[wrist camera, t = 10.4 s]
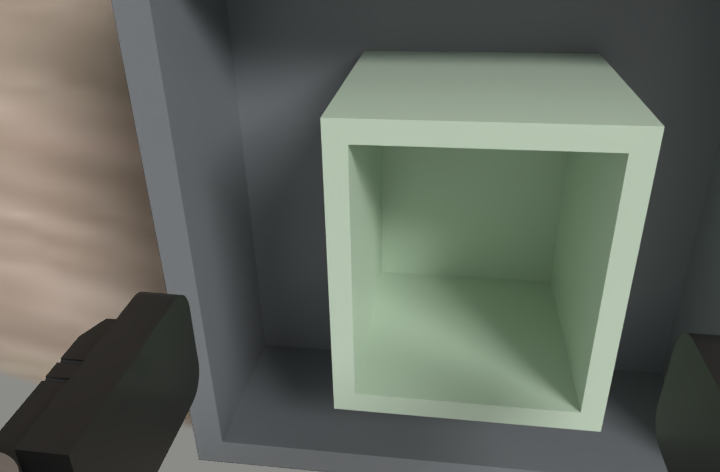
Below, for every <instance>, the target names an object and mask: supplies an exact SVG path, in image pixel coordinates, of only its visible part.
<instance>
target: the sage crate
mask: <svg viewBox="0 0 720 472" xmlns="http://www.w3.org/2000/svg"><path fill="white" fill-rule="evenodd" d="M320 122H321V143H322V164H323V185H324V206H325V227H326V248H327V269H328V290H329V311H330V332H331V353H332V374H333V395H334V409H345V410H356V411H367V412H379V413H390V414H402V415H413V416H425V417H436V418H448V419H459V420H471V421H482V422H494V423H505V424H517V425H528V426H540V427H551V428H563V429H574V430H586V431H597V432H601V429H602V424H603V419H604V414H605V410H606V405H607V400H608V395H609V390H610V386H611V381H612V376H613V371H614V366H615V362H616V357H617V352H618V347H619V343H620V338H621V333H622V328H623V323H624V319H625V314H626V309H627V304H628V300H629V295H630V290H631V285H632V280H633V276H634V271H635V266H636V261H637V256H638V252H639V247H640V242H641V237H642V233H643V228H644V223H645V218H646V213H647V209H648V204H649V199H650V194H651V190H652V185H653V180H654V175H655V170H656V166H657V161H658V156H659V151H660V147H661V142H662V137H663V132H664V127H665V126H664V125H663V124H662V123H661V122H660V121H659V120H658V119H657V117H656V116H655V115H654V114H653V113H652V112H651V111H650V110H649V108H648V107H647V106H646V105H645V104H644V103H643V102H642V101H641V100H640V98H639V97H638V96H637V95H636V94H635V93H634V92H633V91H632V89H631V88H630V87H629V86H628V85H627V84H626V83H625V82H624V80H623V79H622V78H621V77H620V76H619V75H618V74H617V73H616V72H615V70H614V69H613V68H612V67H611V66H610V65H609V64H608V63H607V61H606V60H605V59H604V58H603V57H602V56H601V55H600V54H599V53H525V52H435V51H364V52H363V54H362V55H361V57H360V58H359V60H358V61H357V63H356V64H355V66H354V67H353V69H352V70H351V72H350V73H349V75H348V77H347V78H346V80H345V81H344V83H343V84H342V86H341V87H340V89H339V90H338V92H337V93H336V95H335V96H334V98H333V99H332V101H331V102H330V104H329V105H328V107H327V108H326V110H325V111H324V113H323V114H322V116H321V117H320Z"/></svg>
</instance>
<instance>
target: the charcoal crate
mask: <svg viewBox="0 0 720 472" xmlns="http://www.w3.org/2000/svg"><path fill="white" fill-rule="evenodd" d="M111 1H112V6H113V12H114V17H115V22H116V27H117V33H118V38H119V43H120V48H121V54H122V59H123V64H124V69H125V74H126V80H127V85H128V90H129V95H130V101H131V106H132V111H133V116H134V122H135V127H136V132H137V137H138V143H139V148H140V153H141V158H142V164H143V169H144V174H145V179H146V184H147V190H148V195H149V200H150V205H151V211H152V216H153V221H154V226H155V232H156V237H157V242H158V247H159V253H160V258H161V263H162V268H163V274H164V279H165V284H166V289H167V294H177V295H184V296H185V297H186V298H187V300H188V302H189V306H190V312H191V318H192V324H193V331H194V337H195V343H196V349H197V356H198V362H199V382H198V388H197V392H196V396H195V399H194V401H193V403H192V405H191V407H190V409H189V410H190V415H191V420H192V425H193V431H194V436H195V441H196V446H197V452H198V457H199V460H208V461H218V462H228V463H239V464H249V465H259V466H269V467H280V468H290V469H300V470H310V471H321V472H668V471H667V468H666V465H665V463H664V460H663V457H662V454H661V451H660V449H659V445H658V441H657V436H656V410H657V405H658V401H659V398H660V395H661V391H662V388H663V384H664V381H665V377H666V374H667V370H668V367H669V364H670V360H671V357H672V353H673V350H674V346H675V343H676V341H677V339H678V337H679V336H680V335H681V334H682V333H696V334H710V335H720V0H111ZM364 51H435V52H525V53H599V54H600V55H601V56H602V57H603V58H604V59H605V60H606V61H607V63H608V64H609V65H610V66H611V67H612V68H613V69H614V70H615V72H616V73H617V74H618V75H619V76H620V77H621V78H622V79H623V80H624V82H625V83H626V84H627V85H628V86H629V87H630V88H631V89H632V91H633V92H634V93H635V94H636V95H637V96H638V97H639V98H640V100H641V101H642V102H643V103H644V104H645V105H646V106H647V107H648V108H649V110H650V111H651V112H652V113H653V114H654V115H655V116H656V117H657V119H658V120H659V121H660V122H661V123H662V124H663V125H664V126H665V127H664V132H663V137H662V142H661V147H660V151H659V156H658V161H657V166H656V170H655V175H654V180H653V185H652V190H651V194H650V199H649V204H648V209H647V213H646V218H645V223H644V228H643V233H642V237H641V242H640V247H639V252H638V256H637V261H636V266H635V271H634V276H633V280H632V285H631V290H630V295H629V300H628V304H627V309H626V314H625V319H624V323H623V328H622V333H621V338H620V343H619V347H618V352H617V357H616V362H615V366H614V371H613V376H612V381H611V386H610V390H609V395H608V400H607V405H606V410H605V414H604V419H603V424H602V429H601V432H597V431H586V430H574V429H563V428H551V427H540V426H528V425H517V424H505V423H494V422H482V421H471V420H459V419H448V418H436V417H425V416H413V415H402V414H390V413H379V412H367V411H356V410H345V409H334V395H333V374H332V353H331V332H330V311H329V290H328V269H327V248H326V227H325V206H324V185H323V164H322V143H321V122H320V117H321V116H322V114H323V113H324V111H325V110H326V108H327V107H328V105H329V104H330V102H331V101H332V99H333V98H334V96H335V95H336V93H337V92H338V90H339V89H340V87H341V86H342V84H343V83H344V81H345V80H346V78H347V77H348V75H349V73H350V72H351V70H352V69H353V67H354V66H355V64H356V63H357V61H358V60H359V58H360V57H361V55H362V54H363V52H364Z"/></svg>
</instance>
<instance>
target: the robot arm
mask: <svg viewBox="0 0 720 472" xmlns="http://www.w3.org/2000/svg"><path fill="white" fill-rule="evenodd" d="M198 382H199V362H198V356H197V349H196V343H195V337H194V331H193V324H192V318H191V312H190V306H189V302H188V300H187V298H186V297H185V296H184V295H177V294H163V293H150V292H139V293H138V294H136V295H135V296H134V297H133V299H132V300H131V301H130V303H129V304H128V305H127V306H126V308H125V309H124V310H123V311H122V313H121V314H120V315H119V317H118V318H117V319H105V320H104V321H102V322H100V323H99V324H97V325H96V326H94V327H93V328H91V329H90V330H88V331H87V332H85V333H84V334H82V335H81V336H79V337H78V338H77V340H76V341H75V342H74V343H73V344H72V346H71V347H70V348H69V349H68V350H67V352H66V353H65V354H64V355H63V356H62V357H61V362H60V363H56V365H55V366H54V367H53V368H52V369H51V371H50V372H49V373H48V374H47V375H46V380H45V381H41V383H40V384H39V385H38V386H37V387H36V389H35V390H34V391H33V392H32V393H31V395H30V396H29V397H28V398H27V399H26V400H25V402H24V403H23V404H22V405H21V406H20V408H19V409H18V410H17V411H16V412H15V414H14V415H13V416H12V417H11V418H10V420H9V421H8V422H7V423H6V424H5V426H4V427H3V428H2V429H1V430H0V472H158V470H159V468H160V466H161V464H162V462H163V460H164V458H165V456H166V454H167V452H168V450H169V448H170V447H171V445H172V442H173V441H174V438H175V437H176V435H177V433H178V431H179V429H180V427H181V425H182V423H183V421H184V419H185V417H186V415H187V413H188V411H189V409H190V407H191V405H192V403H193V401H194V399H195V396H196V392H197V388H198ZM656 436H657V441H658V445H659V449H660V451H661V454H662V457H663V460H664V463H665V465H666V468H667V471H668V472H720V335H710V334H696V333H682V334H681V335H680V336H679V337H678V339H677V341H676V343H675V346H674V350H673V353H672V357H671V360H670V364H669V367H668V370H667V374H666V377H665V381H664V384H663V388H662V391H661V395H660V398H659V401H658V405H657V410H656Z"/></svg>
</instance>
